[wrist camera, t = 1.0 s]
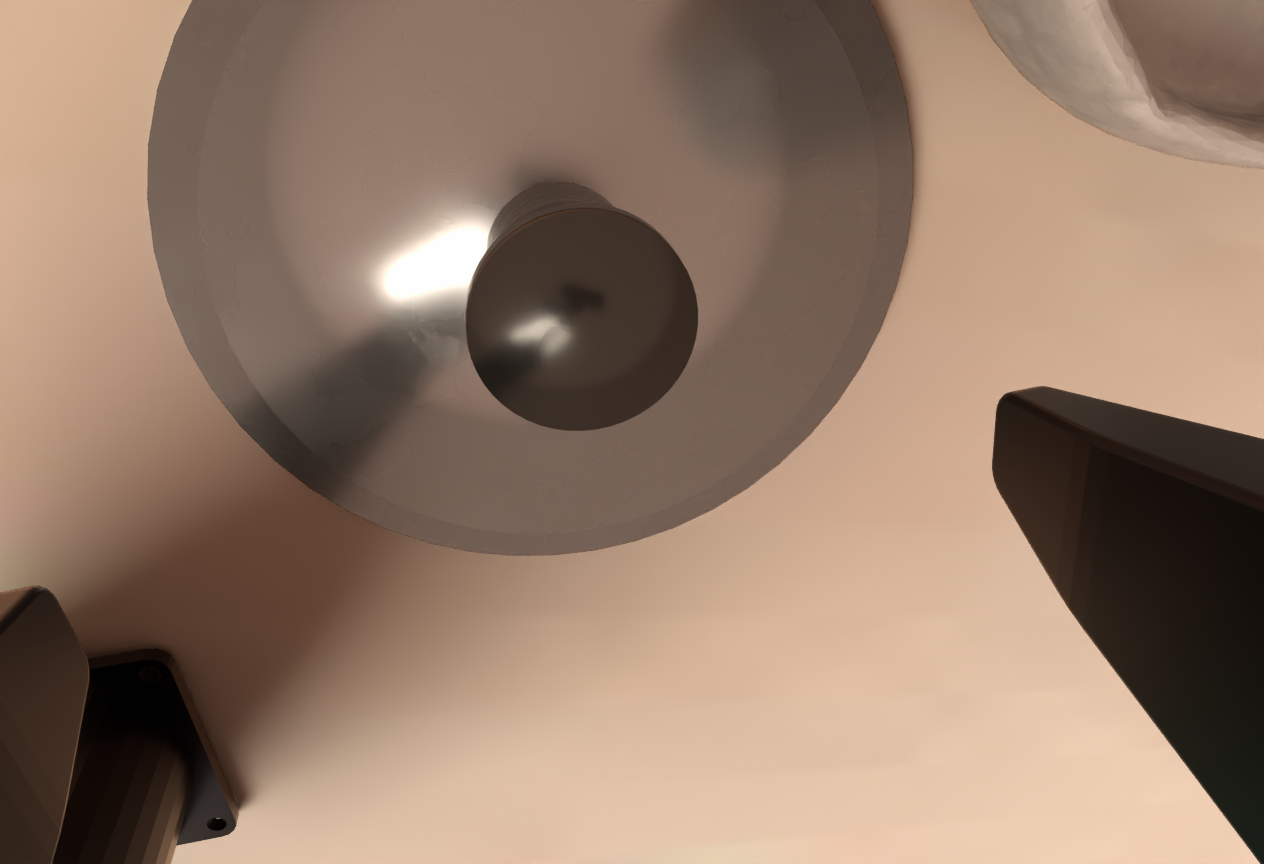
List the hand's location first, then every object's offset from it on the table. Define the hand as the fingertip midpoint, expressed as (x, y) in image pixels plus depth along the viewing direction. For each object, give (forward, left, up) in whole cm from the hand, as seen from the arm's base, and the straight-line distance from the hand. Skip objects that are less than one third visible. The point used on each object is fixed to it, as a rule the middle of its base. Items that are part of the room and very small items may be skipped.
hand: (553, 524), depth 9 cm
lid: (-1, -1, -13) cm, 13 cm away
